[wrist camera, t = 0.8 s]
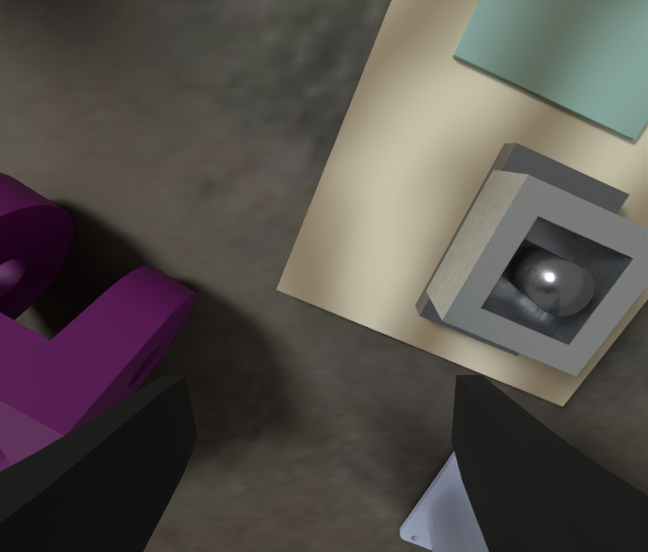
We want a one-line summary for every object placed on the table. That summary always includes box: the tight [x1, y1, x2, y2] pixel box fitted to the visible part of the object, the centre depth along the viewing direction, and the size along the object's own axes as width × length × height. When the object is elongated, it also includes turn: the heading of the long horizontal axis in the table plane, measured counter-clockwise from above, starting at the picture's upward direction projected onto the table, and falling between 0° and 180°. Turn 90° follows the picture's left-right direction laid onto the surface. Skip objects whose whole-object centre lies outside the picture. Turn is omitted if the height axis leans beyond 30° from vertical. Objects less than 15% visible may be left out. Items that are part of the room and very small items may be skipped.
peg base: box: [415, 143, 630, 356], centre depth 14 cm, size 5×8×5 cm, turn 157°
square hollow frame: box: [426, 170, 648, 376], centre depth 14 cm, size 6×6×3 cm
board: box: [277, 0, 648, 407], centre depth 16 cm, size 16×20×1 cm
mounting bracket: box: [0, 173, 197, 471], centre depth 19 cm, size 10×8×18 cm
